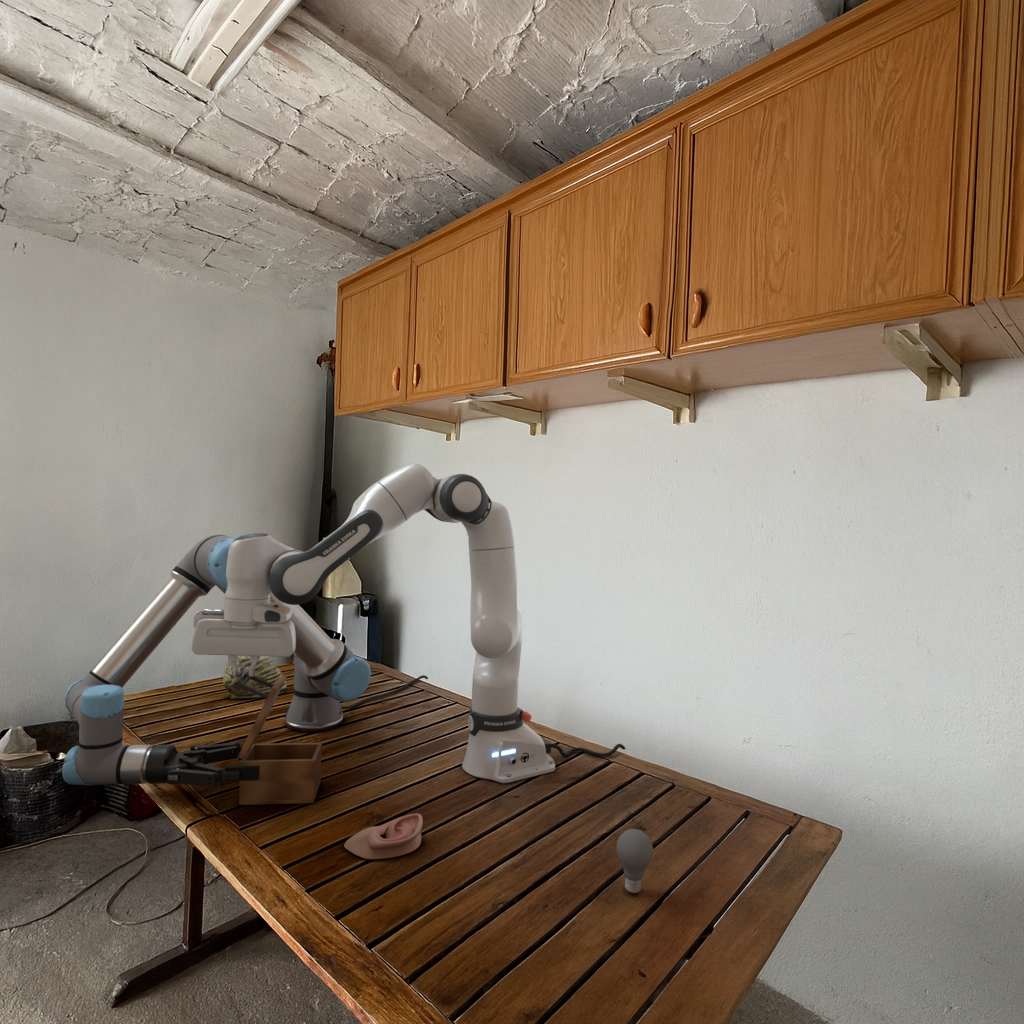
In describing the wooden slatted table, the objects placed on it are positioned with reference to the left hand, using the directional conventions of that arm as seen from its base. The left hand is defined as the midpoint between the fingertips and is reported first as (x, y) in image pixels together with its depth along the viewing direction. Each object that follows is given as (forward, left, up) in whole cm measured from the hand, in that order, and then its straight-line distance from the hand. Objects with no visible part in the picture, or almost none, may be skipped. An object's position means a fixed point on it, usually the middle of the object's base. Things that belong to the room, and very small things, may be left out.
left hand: (264, 762), depth 134 cm
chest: (-3, +2, -7) cm, 8 cm away
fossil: (-33, -62, -7) cm, 70 cm away
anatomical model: (-5, +33, -7) cm, 34 cm away
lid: (0, 0, +10) cm, 10 cm away
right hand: (+4, -3, +18) cm, 19 cm away
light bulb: (-23, +75, -7) cm, 78 cm away
